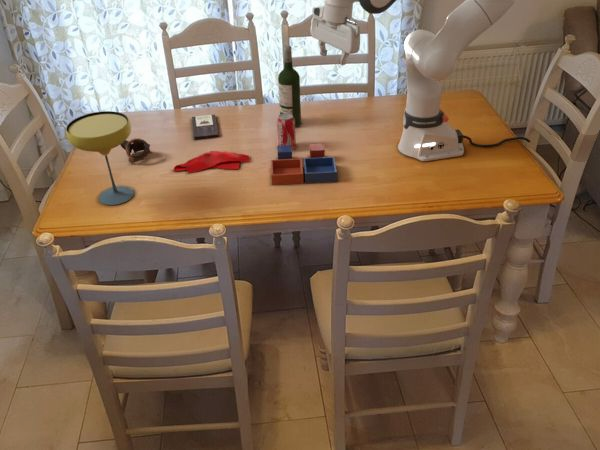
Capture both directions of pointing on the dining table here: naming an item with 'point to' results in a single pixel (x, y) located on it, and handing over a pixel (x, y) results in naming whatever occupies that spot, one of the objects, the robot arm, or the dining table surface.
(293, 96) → the wine bottle
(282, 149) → the blue block
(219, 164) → the cloth
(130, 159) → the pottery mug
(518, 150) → the dining table surface
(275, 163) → the terracotta bin
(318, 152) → the red block
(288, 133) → the beverage can
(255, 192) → the dining table surface
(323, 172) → the blue bin
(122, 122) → the cocktail glass
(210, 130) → the chocolate bar
